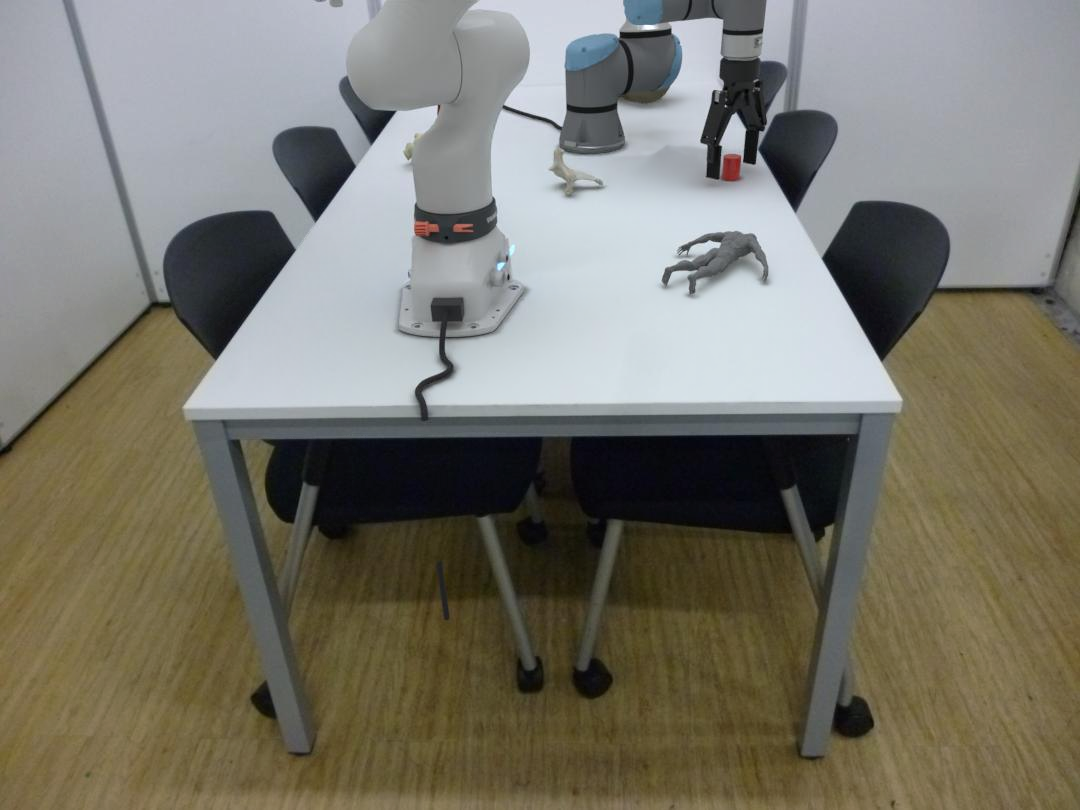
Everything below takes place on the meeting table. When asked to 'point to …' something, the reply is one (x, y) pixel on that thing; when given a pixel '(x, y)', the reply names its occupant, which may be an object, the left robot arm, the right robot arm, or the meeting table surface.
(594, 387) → the meeting table surface
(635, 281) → the meeting table surface
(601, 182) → the bone
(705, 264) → the figurine
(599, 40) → the right robot arm
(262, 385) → the meeting table surface
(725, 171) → the tin
